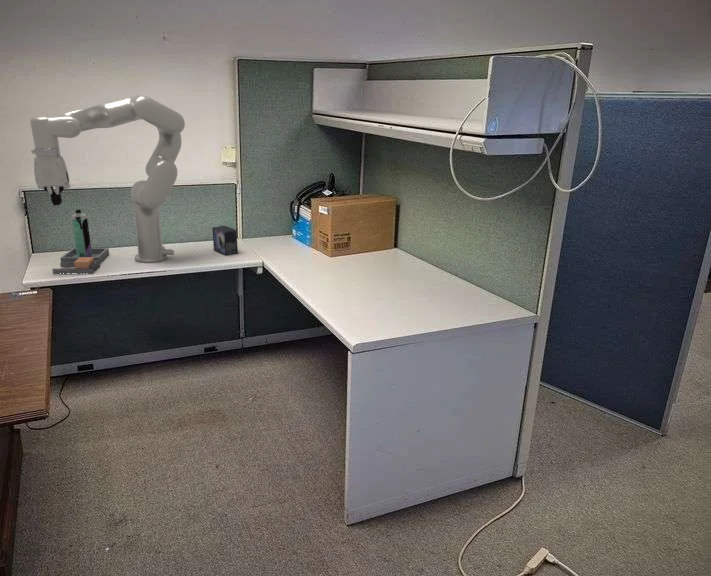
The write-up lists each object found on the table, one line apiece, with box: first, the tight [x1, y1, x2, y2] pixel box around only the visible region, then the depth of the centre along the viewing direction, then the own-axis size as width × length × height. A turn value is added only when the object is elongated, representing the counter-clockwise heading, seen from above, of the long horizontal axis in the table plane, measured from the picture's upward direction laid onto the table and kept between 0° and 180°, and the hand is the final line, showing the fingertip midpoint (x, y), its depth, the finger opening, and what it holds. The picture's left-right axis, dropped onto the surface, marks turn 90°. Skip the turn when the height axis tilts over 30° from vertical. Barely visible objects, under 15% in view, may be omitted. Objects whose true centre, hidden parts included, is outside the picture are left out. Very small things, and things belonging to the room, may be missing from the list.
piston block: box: [74, 257, 94, 268], centre depth 209 cm, size 5×6×4 cm
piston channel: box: [51, 260, 101, 275], centre depth 208 cm, size 14×9×3 cm, turn 98°
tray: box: [59, 247, 110, 265], centre depth 221 cm, size 14×14×3 cm
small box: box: [211, 225, 239, 256], centre depth 237 cm, size 11×6×10 cm, turn 43°
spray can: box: [71, 208, 92, 257], centre depth 218 cm, size 6×6×20 cm
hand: (57, 204), depth 200 cm, fingers closed
